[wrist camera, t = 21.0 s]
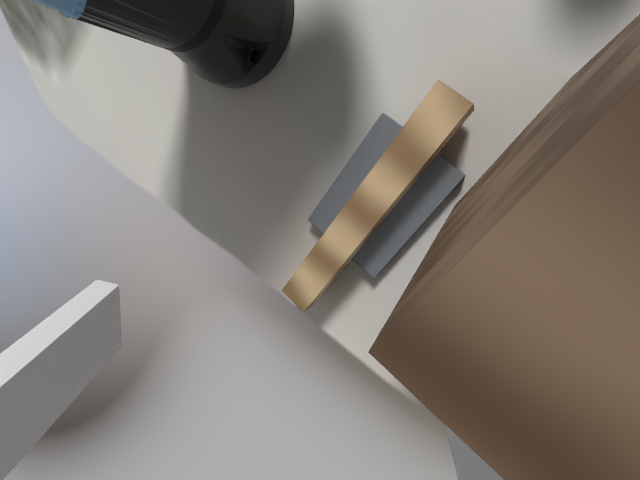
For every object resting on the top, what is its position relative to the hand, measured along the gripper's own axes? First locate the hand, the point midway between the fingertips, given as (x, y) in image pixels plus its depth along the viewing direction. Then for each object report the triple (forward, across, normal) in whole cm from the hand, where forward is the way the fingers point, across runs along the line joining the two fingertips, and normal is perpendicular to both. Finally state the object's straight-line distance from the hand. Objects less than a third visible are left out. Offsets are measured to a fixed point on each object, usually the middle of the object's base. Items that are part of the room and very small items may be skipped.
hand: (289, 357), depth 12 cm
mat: (+27, +5, -2) cm, 28 cm away
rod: (+26, +4, -3) cm, 27 cm away
